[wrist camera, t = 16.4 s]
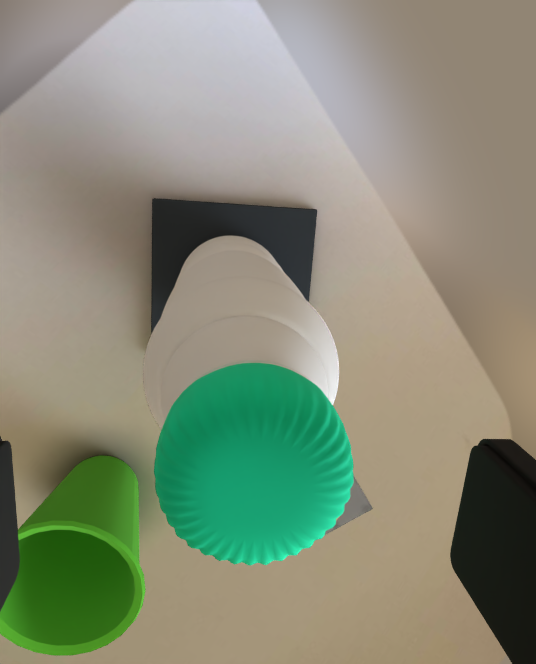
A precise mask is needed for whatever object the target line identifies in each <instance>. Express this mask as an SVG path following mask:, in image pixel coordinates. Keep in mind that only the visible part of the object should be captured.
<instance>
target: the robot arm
mask: <svg viewBox="0 0 536 664" xmlns="http://www.w3.org/2000/svg"><path fill="white" fill-rule="evenodd" d="M450 557H451V563H452V567H453V569H454V571H455V573H456V574H457V576H458V578H459V579H460V581H461V582H462V584H463V586H464V587H465V589H466V590H467V592H468V593H469V595H470V597H471V598H472V600H473V601H474V603H475V605H476V606H477V608H478V609H479V611H480V613H481V614H482V616H483V617H484V619H485V621H486V622H487V624H488V625H489V627H490V629H491V630H492V632H493V633H494V635H495V637H496V638H497V640H498V641H499V643H500V645H501V646H502V648H503V649H504V651H505V652H506V654H507V656H508V657H509V659H510V660H511V662H512V664H536V460H535V459H534V458H533V457H532V456H530V455H529V454H528V453H527V452H526V451H525V450H523V449H522V448H521V447H520V446H519V445H518V444H516V443H515V442H514V441H512V440H511V439H483V440H481V441H480V443H479V444H478V446H474V447H473V448H472V450H471V453H470V457H469V462H468V467H467V472H466V477H465V482H464V487H463V492H462V497H461V502H460V507H459V512H458V517H457V522H456V527H455V532H454V537H453V541H452V546H451V553H450ZM19 565H20V553H19V540H18V528H17V515H16V502H15V489H14V476H13V464H12V451H11V445H10V442H8V441H2V439H1V437H0V611H1V609H2V607H3V605H4V603H5V601H6V599H7V597H8V595H9V593H10V591H11V589H12V587H13V585H14V583H15V581H16V578H17V575H18V571H19Z"/></svg>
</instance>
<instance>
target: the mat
mask: <svg viewBox="0 0 536 664" xmlns="http://www.w3.org/2000/svg"><path fill="white" fill-rule="evenodd" d="M316 217H317V210H316V209H301V208H287V207H272V206H258V205H243V204H229V203H214V202H200V201H185V200H171V199H156V198H153V199H152V314H151V334H152V332H153V330H154V328H155V326H156V325H157V323H158V321H159V320H160V318H161V316H162V313H163V310H164V307H165V305H166V303H167V300H168V298H169V296H170V294H171V292H172V290H173V289H174V287H175V284H176V281H177V279H178V276H179V274H180V272H181V269H182V267H183V265H184V263H185V261H186V259H187V258H188V257H189V255H190V254H191V253H192V252H193V251H194V250H195V249H196V248H197V247H198V246H200V245H201V244H203V243H204V242H206V241H208V240H210V239H213V238H216V237H220V236H240V237H245V238H248V239H250V240H253V241H255V242H257V243H258V244H260V245H261V246H263V247H264V248H265V249H266V250H267V251H268V252H269V253H270V254H271V255H272V256H273V258H274V259H275V260H276V262H277V263H278V264H279V266H280V267H281V268H282V270H283V271H284V273H285V274H286V275H287V276H288V277H289V278H290V279H291V281H292V282H293V283H294V284H295V285H296V287H297V288H298V289H299V291H300V292H301V293H302V295H303V296H304V298H305V299H306V300H307V301H308V302H309V293H310V282H311V271H312V261H313V250H314V239H315V228H316Z"/></svg>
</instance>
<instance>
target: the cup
mask: <svg viewBox="0 0 536 664" xmlns="http://www.w3.org/2000/svg"><path fill="white" fill-rule="evenodd" d="M18 540H19V553H20V565H19V571H18V575H17V578H16V581H15V583H14V585H13V587H12V589H11V591H10V593H9V595H8V597H7V599H6V601H5V603H4V605H3V607H2V609H1V611H0V634H1V635H2V636H4V637H5V638H7V639H8V640H10V641H11V642H13V643H15V644H16V645H18V646H20V647H23V648H26V649H28V650H31V651H33V652H37V653H43V654H48V655H76V654H81V653H86V652H91V651H93V650H96V649H98V648H101V647H103V646H106V645H108V644H109V643H111V642H112V641H114V640H115V639H116V638H118V637H119V636H121V635H122V634H123V633H124V632H125V631H126V630H127V628H128V627H129V626H130V625H131V624H132V623H133V622H134V621H135V619H136V617H137V615H138V613H139V611H140V609H141V608H142V605H143V600H144V595H145V583H144V574H143V572H142V569H141V567H140V565H139V489H138V480H137V478H136V475H135V473H134V472H133V471H132V469H131V468H130V467H129V466H128V465H127V464H126V463H125V462H124V461H122V460H120V459H118V458H115V457H111V456H95V457H92V458H89V459H86V460H84V461H82V462H81V463H79V464H78V465H76V466H75V467H74V469H73V470H72V471H71V472H70V473H69V474H68V475H67V476H66V477H65V479H64V480H63V481H62V482H61V483H60V484H59V485H58V486H57V487H56V488H55V490H54V491H53V492H52V493H51V494H50V495H49V496H48V497H47V498H46V499H45V501H44V502H43V503H42V504H41V505H40V506H39V507H38V508H37V509H36V511H35V512H34V513H33V514H32V515H31V516H30V517H29V518H28V519H27V520H26V522H25V523H24V524H23V525H22V526H21V527H20V528H19V529H18Z"/></svg>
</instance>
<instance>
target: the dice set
mask: <svg viewBox="0 0 536 664" xmlns="http://www.w3.org/2000/svg"><path fill="white" fill-rule="evenodd" d="M353 478H354V476H353ZM372 509H373V508H372V506H371V505H370V503H369V501H368V500H367V498H366V496H365V494H364V493H363V491H362V489H361V488H360V486H359V484H358V483H357V481H356V479H355V478H354V482H353V485H352V487H351V489H350V499H349V500H348V502H347V503H346V504H345V507H344V512H343V514H342V515H341V516H340V517H338V518H337V519H336V524H335V526H334V527H333V528H331V529H329V530H327V531H326V532H325V535H326V534H328V533H329V532H331V531H333V530H335V529H337V528H339V527H340V526H342V525H344V524H346V523H348V522H350V521H351V520H353V519H355V518H357V517H359V516H361V515H362V514H364V513H366V512H368V511H370V510H372Z"/></svg>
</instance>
